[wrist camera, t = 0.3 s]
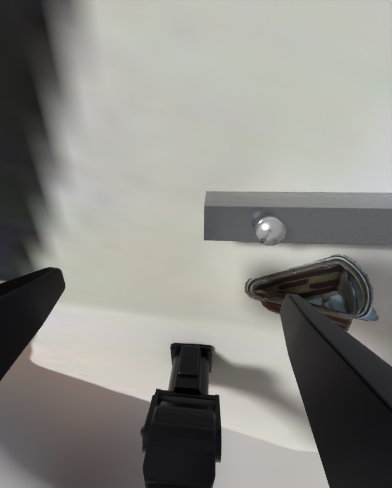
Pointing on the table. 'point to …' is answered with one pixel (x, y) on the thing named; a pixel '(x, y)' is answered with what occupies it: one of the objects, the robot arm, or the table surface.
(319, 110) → the table surface
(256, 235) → the stop rail
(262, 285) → the chocolate cake
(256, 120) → the table surface
